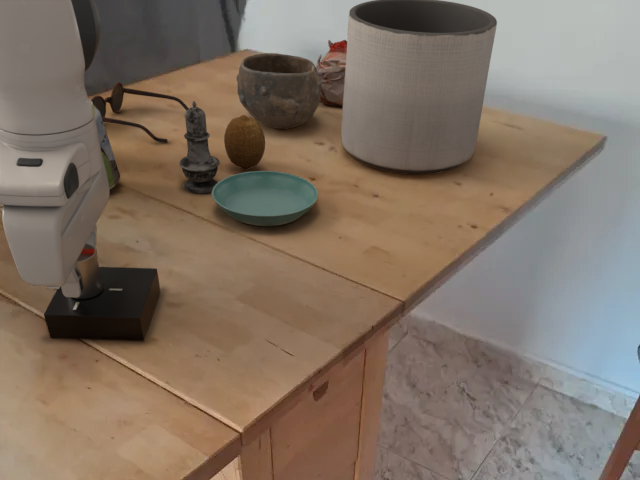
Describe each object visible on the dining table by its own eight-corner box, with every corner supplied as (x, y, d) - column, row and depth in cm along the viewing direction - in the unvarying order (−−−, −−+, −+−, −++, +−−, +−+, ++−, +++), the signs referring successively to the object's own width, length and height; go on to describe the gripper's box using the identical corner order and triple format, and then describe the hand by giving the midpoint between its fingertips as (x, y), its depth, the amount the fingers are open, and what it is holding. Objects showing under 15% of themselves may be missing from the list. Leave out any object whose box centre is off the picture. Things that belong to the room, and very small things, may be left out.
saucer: (336, 220, 95) (337, 202, 93) (240, 243, 90) (239, 224, 88) (287, 180, 104) (287, 163, 103) (197, 198, 99) (195, 180, 97)
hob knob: (61, 298, 73) (50, 258, 70) (71, 279, 76) (61, 239, 73) (98, 299, 73) (89, 259, 70) (107, 280, 76) (99, 240, 73)
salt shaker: (228, 182, 103) (223, 98, 95) (208, 197, 99) (200, 111, 91) (195, 174, 105) (187, 91, 97) (173, 189, 101) (163, 103, 93)
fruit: (236, 157, 110) (234, 105, 105) (272, 164, 109) (271, 111, 103) (218, 172, 106) (215, 118, 100) (255, 179, 104) (253, 125, 99)
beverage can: (130, 185, 101) (116, 100, 93) (92, 203, 97) (74, 114, 88) (100, 174, 104) (84, 90, 95) (62, 191, 99) (42, 103, 91)
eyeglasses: (125, 105, 126) (121, 76, 122) (201, 116, 123) (198, 86, 120) (84, 133, 115) (78, 102, 112) (166, 145, 113) (162, 113, 109)
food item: (353, 111, 128) (357, 52, 121) (311, 107, 129) (312, 48, 122) (363, 88, 137) (367, 33, 131) (324, 84, 138) (326, 29, 132)
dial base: (39, 337, 73) (32, 313, 71) (65, 287, 81) (59, 263, 78) (144, 341, 73) (139, 316, 71) (160, 290, 81) (156, 267, 79)
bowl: (292, 145, 115) (292, 81, 108) (219, 125, 120) (215, 62, 113) (335, 121, 123) (337, 60, 117) (264, 103, 129) (263, 44, 122)
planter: (411, 119, 126) (426, -8, 112) (501, 160, 113) (530, 22, 99) (314, 143, 116) (317, 6, 102) (400, 191, 103) (417, 42, 89)
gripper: (50, 109, 72) (77, 231, 81) (-22, 194, 57) (22, 331, 67) (111, 112, 72) (131, 233, 82) (55, 197, 57) (87, 333, 67)
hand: (81, 278), depth 74 cm, fingers open, 5 cm apart
